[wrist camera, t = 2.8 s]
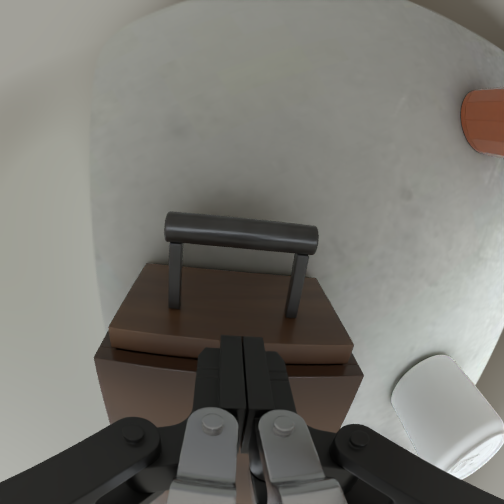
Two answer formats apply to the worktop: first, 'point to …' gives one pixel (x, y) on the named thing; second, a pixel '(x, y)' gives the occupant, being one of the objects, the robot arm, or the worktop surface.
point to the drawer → (231, 297)
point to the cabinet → (183, 384)
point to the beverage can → (447, 417)
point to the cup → (484, 120)
